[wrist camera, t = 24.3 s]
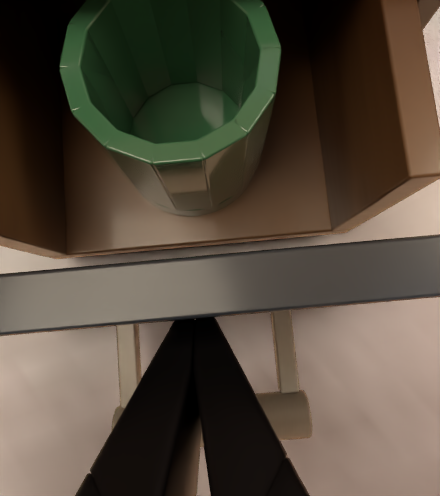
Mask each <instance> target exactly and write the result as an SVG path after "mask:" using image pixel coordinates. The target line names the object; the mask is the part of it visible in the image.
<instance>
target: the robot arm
mask: <svg viewBox="0 0 440 496" xmlns="http://www.w3.org/2000/svg"><path fill="white" fill-rule="evenodd" d="M201 431H202V436H203V443H204V450H205V457H206V464H207V471H208V478H209V485H210V492H211V496H310V495H309V493H308V492H307V490H306V488H305V486H304V485H303V483H302V481H301V479H300V477H299V476H298V474H297V472H296V470H295V468H294V466H293V464H292V462H291V460H290V459H289V458H288V457H287V453H286V451H285V449H284V448H283V446H282V444H281V442H280V440H279V438H278V436H277V434H276V432H275V431H274V429H273V427H272V425H271V423H270V421H269V419H268V417H267V415H266V413H265V412H264V410H263V408H262V406H261V404H260V402H259V400H258V398H257V396H256V394H255V393H254V391H253V389H252V387H251V385H250V383H249V381H248V379H247V377H246V375H245V374H244V372H243V370H242V368H241V366H240V364H239V362H238V360H237V358H236V356H235V355H234V353H233V351H232V349H231V347H230V345H229V343H228V341H227V339H226V338H225V336H224V334H223V332H222V330H221V328H220V326H219V324H218V322H217V320H216V319H215V317H209V318H197V319H195V320H194V319H186V320H175V321H174V322H173V324H172V326H171V327H170V329H169V331H168V333H167V335H166V336H165V338H164V340H163V342H162V343H161V345H160V347H159V349H158V350H157V352H156V354H155V356H154V357H153V359H152V361H151V363H150V365H149V366H148V368H147V370H146V372H145V373H144V375H143V377H142V379H141V380H140V382H139V384H138V386H137V387H136V389H135V391H134V393H133V395H132V396H131V398H130V400H129V402H128V403H127V405H126V407H125V409H124V410H123V412H122V414H121V416H120V417H119V419H118V421H117V423H116V425H115V426H114V428H113V430H112V432H111V433H110V435H109V437H108V439H107V440H106V442H105V444H104V446H103V447H102V449H101V451H100V453H99V455H98V456H97V458H96V460H95V462H94V463H93V465H92V467H91V469H90V472H91V474H90V473H89V474H87V475H86V477H85V479H84V481H83V482H82V484H81V486H80V488H79V489H78V491H77V493H76V495H75V496H196V495H197V482H198V469H199V457H200V444H201Z"/></svg>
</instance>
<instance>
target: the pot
mask: <svg viewBox="0 0 440 496" xmlns="http://www.w3.org/2000/svg"><path fill="white" fill-rule="evenodd" d="M281 52H282V50H281V45H280V42H279V39H278V37H277V34H276V31H275V29H274V26H273V23H272V21H271V18H270V15H269V13H268V10H267V7H266V6H265V5H264V3H263V2H262V1H261V0H86V1H85V2H84V3H83V4H82V6H81V7H80V8H79V10H78V11H77V12H76V13H75V15H74V16H73V17H72V19H71V20H70V22H69V24H68V26H67V31H66V36H65V41H64V45H63V50H62V55H61V60H60V65H59V67H60V75H61V78H62V82H63V85H64V89H65V92H66V96H67V99H68V103H69V106H70V110H71V112H72V113H73V116H74V117H75V118H76V119H77V121H78V122H79V123H80V124H81V125H82V127H83V128H84V129H85V130H86V131H87V133H88V134H89V135H90V136H91V137H92V139H93V140H94V141H95V142H96V143H97V145H98V146H99V147H100V148H101V149H102V151H103V152H104V153H105V154H106V156H107V157H108V158H109V159H110V160H111V162H112V163H113V164H114V165H115V166H116V168H117V169H118V170H119V171H120V172H121V174H122V175H123V176H124V177H125V178H126V179H127V180H128V181H129V182H130V184H131V185H132V186H133V187H134V188H135V189H136V190H137V192H138V193H139V194H140V195H141V196H142V197H143V198H144V199H145V200H146V201H148V202H149V203H150V204H152V205H153V206H155V207H157V208H159V209H160V210H163V211H165V212H168V213H171V214H175V215H180V216H201V215H207V214H210V213H213V212H216V211H219V210H221V209H223V208H225V207H227V206H228V205H230V204H231V203H233V202H234V201H235V200H237V199H238V198H239V197H240V196H241V195H242V194H243V193H244V192H245V190H246V189H247V188H248V186H249V185H250V183H251V182H252V180H253V178H254V176H255V173H256V171H257V168H258V165H259V163H260V161H261V156H262V152H263V148H264V143H265V139H266V135H267V130H268V126H269V122H270V118H271V113H272V109H273V105H274V100H275V96H276V91H277V83H278V75H279V67H280V60H281Z"/></svg>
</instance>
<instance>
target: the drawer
mask: <svg viewBox="0 0 440 496" xmlns="http://www.w3.org/2000/svg"><path fill="white" fill-rule="evenodd" d="M85 1H86V0H0V246H4V247H8V248H12V249H16V250H20V251H24V252H28V253H32V254H36V255H40V256H45V257H50V258H54V259H63V258H74V257H85V256H96V255H107V254H118V253H129V252H140V251H151V250H162V249H173V248H184V247H195V246H206V245H217V244H229V243H240V242H251V241H262V240H273V239H284V238H295V237H306V236H317V235H328V234H339V233H346V232H348V231H350V230H351V229H354V228H355V227H357V226H359V225H361V224H362V223H364V222H366V221H367V220H369V219H371V218H373V217H374V216H376V215H378V214H379V213H381V212H383V211H385V210H386V209H388V208H390V207H392V206H393V205H395V204H397V203H398V202H400V201H402V200H404V199H405V198H407V197H409V196H410V195H412V194H414V193H416V192H417V191H419V190H421V189H423V188H424V187H426V186H428V185H429V184H431V183H433V182H435V181H436V180H438V179H440V128H439V123H438V117H437V111H436V105H435V100H434V94H433V88H432V83H431V77H430V71H429V65H428V60H427V54H426V48H425V42H424V37H423V31H422V25H421V20H420V14H419V8H418V2H417V0H261V1H262V2H263V3H264V5H265V6H266V7H267V10H268V13H269V15H270V18H271V21H272V23H273V26H274V29H275V31H276V34H277V37H278V39H279V42H280V45H281V50H282V52H281V60H280V67H279V75H278V83H277V91H276V96H275V100H274V105H273V109H272V113H271V118H270V122H269V126H268V130H267V135H266V139H265V143H264V148H263V152H262V156H261V161H260V163H259V165H258V168H257V171H256V173H255V176H254V178H253V180H252V182H251V183H250V185H249V186H248V188H247V189H246V190H245V192H244V193H243V194H242V195H241V196H240V197H239V198H238V199H237V200H235V201H234V202H233V203H231V204H230V205H228V206H227V207H225V208H223V209H221V210H219V211H216V212H213V213H210V214H207V215H201V216H180V215H175V214H171V213H168V212H165V211H163V210H160V209H159V208H157V207H155V206H153V205H152V204H150V203H149V202H148V201H146V200H145V199H144V198H143V197H142V196H141V195H140V194H139V193H138V192H137V190H136V189H135V188H134V187H133V186H132V185H131V184H130V182H129V181H128V180H127V179H126V178H125V177H124V176H123V175H122V174H121V172H120V171H119V170H118V169H117V168H116V166H115V165H114V164H113V163H112V162H111V160H110V159H109V158H108V157H107V156H106V154H105V153H104V152H103V151H102V149H101V148H100V147H99V146H98V145H97V143H96V142H95V141H94V140H93V139H92V137H91V136H90V135H89V134H88V133H87V131H86V130H85V129H84V128H83V127H82V125H81V124H80V123H79V122H78V121H77V119H76V118H75V117H74V116H73V113H72V112H71V110H70V106H69V103H68V99H67V96H66V92H65V89H64V85H63V82H62V78H61V75H60V67H59V65H60V60H61V55H62V50H63V45H64V41H65V36H66V31H67V26H68V24H69V22H70V20H71V19H72V17H73V16H74V15H75V13H76V12H77V11H78V10H79V8H80V7H81V6H82V4H83V3H84V2H85ZM433 297H440V234H439V235H428V236H417V237H406V238H395V239H384V240H373V241H362V242H351V243H340V244H328V245H317V246H306V247H295V248H284V249H273V250H262V251H251V252H240V253H229V254H218V255H207V256H196V257H184V258H173V259H162V260H151V261H140V262H129V263H118V264H107V265H96V266H85V267H74V268H63V269H52V270H41V271H29V272H18V273H7V274H0V336H7V335H18V334H29V333H40V332H52V331H63V330H74V329H85V328H96V327H108V326H116V331H117V350H118V370H119V389H120V406H118V407H117V408H116V410H115V412H114V416H113V421H112V430H113V428H114V426H115V425H116V423H117V421H118V419H119V417H120V416H121V414H122V412H123V410H124V409H125V407H126V405H127V403H128V402H129V400H130V398H131V396H132V395H133V393H134V391H135V389H136V387H137V386H138V384H139V382H140V380H141V379H142V377H141V360H140V343H139V326H138V324H141V323H152V322H164V321H175V320H186V319H197V318H209V317H220V316H231V315H242V314H253V313H265V312H270V313H271V322H272V332H273V341H274V351H275V360H276V370H277V379H278V388H279V390H280V392H268V393H257V394H256V396H257V398H258V400H259V402H260V404H261V406H262V408H263V410H264V412H265V413H266V415H267V417H268V419H269V421H270V423H271V425H272V427H273V429H274V431H275V432H276V434H277V436H278V438H279V440H290V439H302V438H309V437H311V435H312V419H311V412H310V406H309V402H308V398H307V396H306V393H305V392H304V390H299V381H298V372H297V363H296V354H295V345H294V336H293V327H292V318H291V310H298V309H310V308H321V307H332V306H343V305H354V304H366V303H377V302H388V301H399V300H410V299H422V298H433ZM200 447H204V443H203V436H202V431H201V444H200Z"/></svg>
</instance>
